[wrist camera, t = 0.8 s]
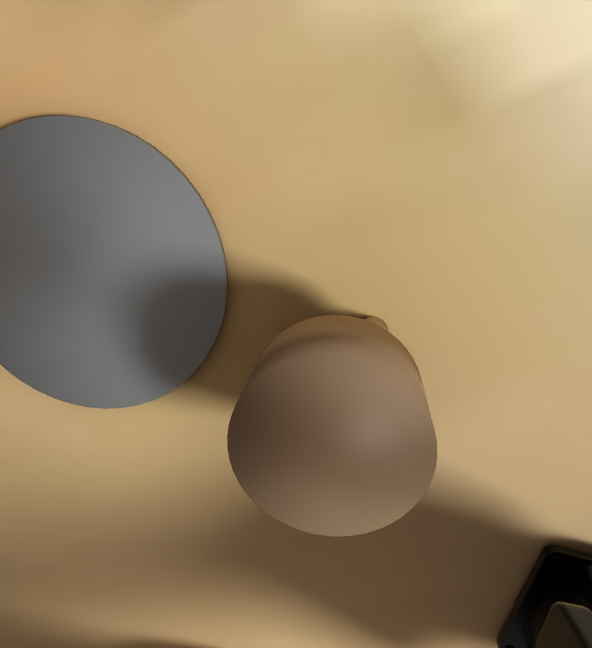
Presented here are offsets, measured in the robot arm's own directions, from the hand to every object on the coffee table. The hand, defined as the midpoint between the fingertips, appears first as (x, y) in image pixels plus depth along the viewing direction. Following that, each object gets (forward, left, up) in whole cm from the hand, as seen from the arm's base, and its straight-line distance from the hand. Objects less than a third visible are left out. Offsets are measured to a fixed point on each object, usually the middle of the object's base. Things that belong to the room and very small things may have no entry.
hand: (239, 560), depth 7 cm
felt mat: (-1, +9, -13) cm, 16 cm away
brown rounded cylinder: (-2, -2, -13) cm, 13 cm away
